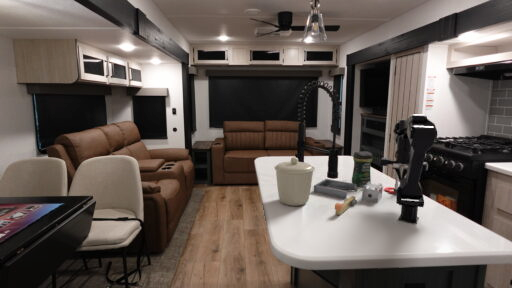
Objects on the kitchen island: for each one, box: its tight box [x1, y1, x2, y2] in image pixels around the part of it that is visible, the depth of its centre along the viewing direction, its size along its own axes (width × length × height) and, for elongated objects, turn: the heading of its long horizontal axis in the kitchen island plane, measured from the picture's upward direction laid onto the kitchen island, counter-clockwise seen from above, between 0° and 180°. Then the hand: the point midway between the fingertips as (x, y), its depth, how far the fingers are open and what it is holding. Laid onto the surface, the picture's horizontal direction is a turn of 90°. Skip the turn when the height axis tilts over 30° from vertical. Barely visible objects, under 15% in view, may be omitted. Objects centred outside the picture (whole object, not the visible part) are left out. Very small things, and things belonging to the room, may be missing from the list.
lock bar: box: [334, 195, 356, 216], centre depth 124 cm, size 20×2×4 cm, turn 144°
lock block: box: [361, 181, 384, 204], centre depth 135 cm, size 10×7×7 cm
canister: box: [273, 156, 315, 207], centre depth 130 cm, size 18×18×21 cm
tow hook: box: [383, 173, 399, 195], centre depth 146 cm, size 8×13×9 cm
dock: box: [313, 178, 358, 207], centre depth 142 cm, size 23×23×4 cm
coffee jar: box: [351, 151, 373, 187], centre depth 157 cm, size 10×8×19 cm
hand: (401, 182), depth 127 cm, fingers closed
